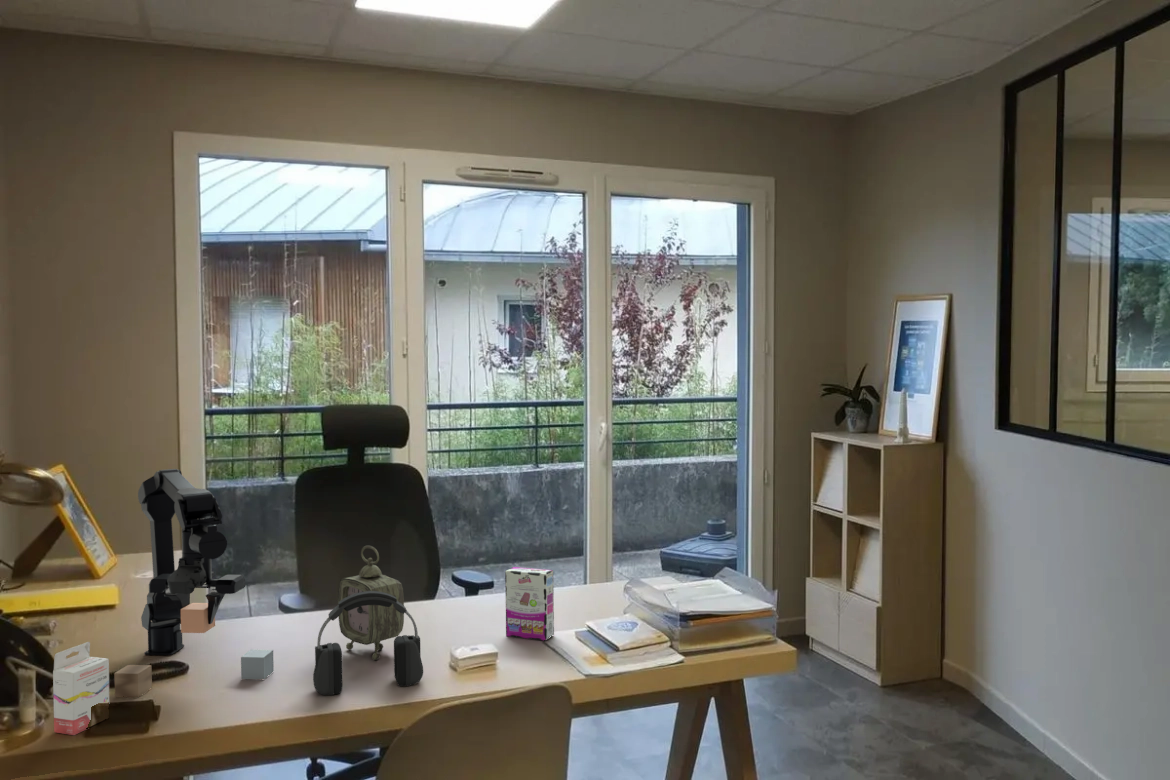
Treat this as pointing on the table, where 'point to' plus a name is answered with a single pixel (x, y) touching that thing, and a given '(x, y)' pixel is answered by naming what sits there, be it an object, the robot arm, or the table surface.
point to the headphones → (330, 654)
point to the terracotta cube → (195, 618)
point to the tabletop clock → (370, 607)
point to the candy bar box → (529, 603)
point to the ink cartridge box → (78, 688)
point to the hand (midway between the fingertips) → (198, 623)
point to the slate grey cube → (257, 664)
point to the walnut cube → (133, 680)
